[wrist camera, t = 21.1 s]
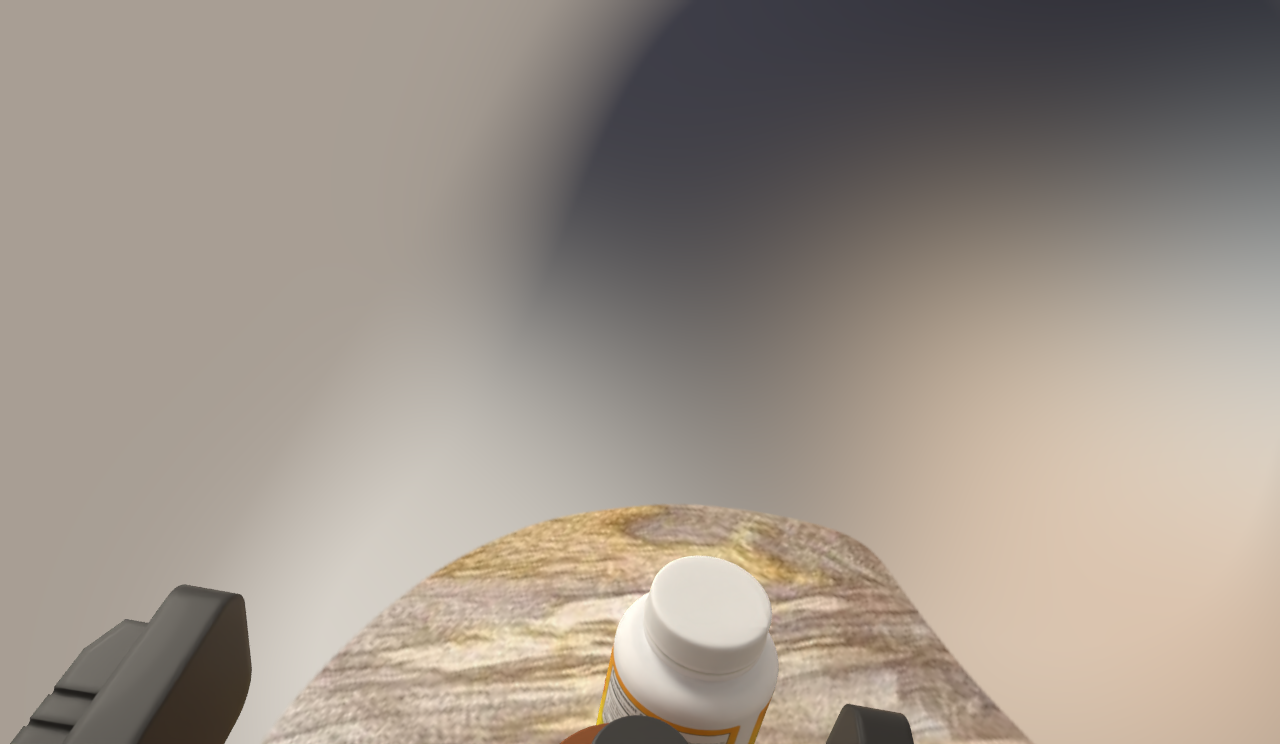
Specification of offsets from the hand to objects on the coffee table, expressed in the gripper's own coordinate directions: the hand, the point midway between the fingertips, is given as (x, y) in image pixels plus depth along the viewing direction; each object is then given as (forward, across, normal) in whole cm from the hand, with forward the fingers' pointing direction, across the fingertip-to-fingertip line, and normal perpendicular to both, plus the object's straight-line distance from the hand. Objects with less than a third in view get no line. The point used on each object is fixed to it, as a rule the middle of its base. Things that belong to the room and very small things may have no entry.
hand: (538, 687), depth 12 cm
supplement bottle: (+12, -5, +21) cm, 24 cm away
